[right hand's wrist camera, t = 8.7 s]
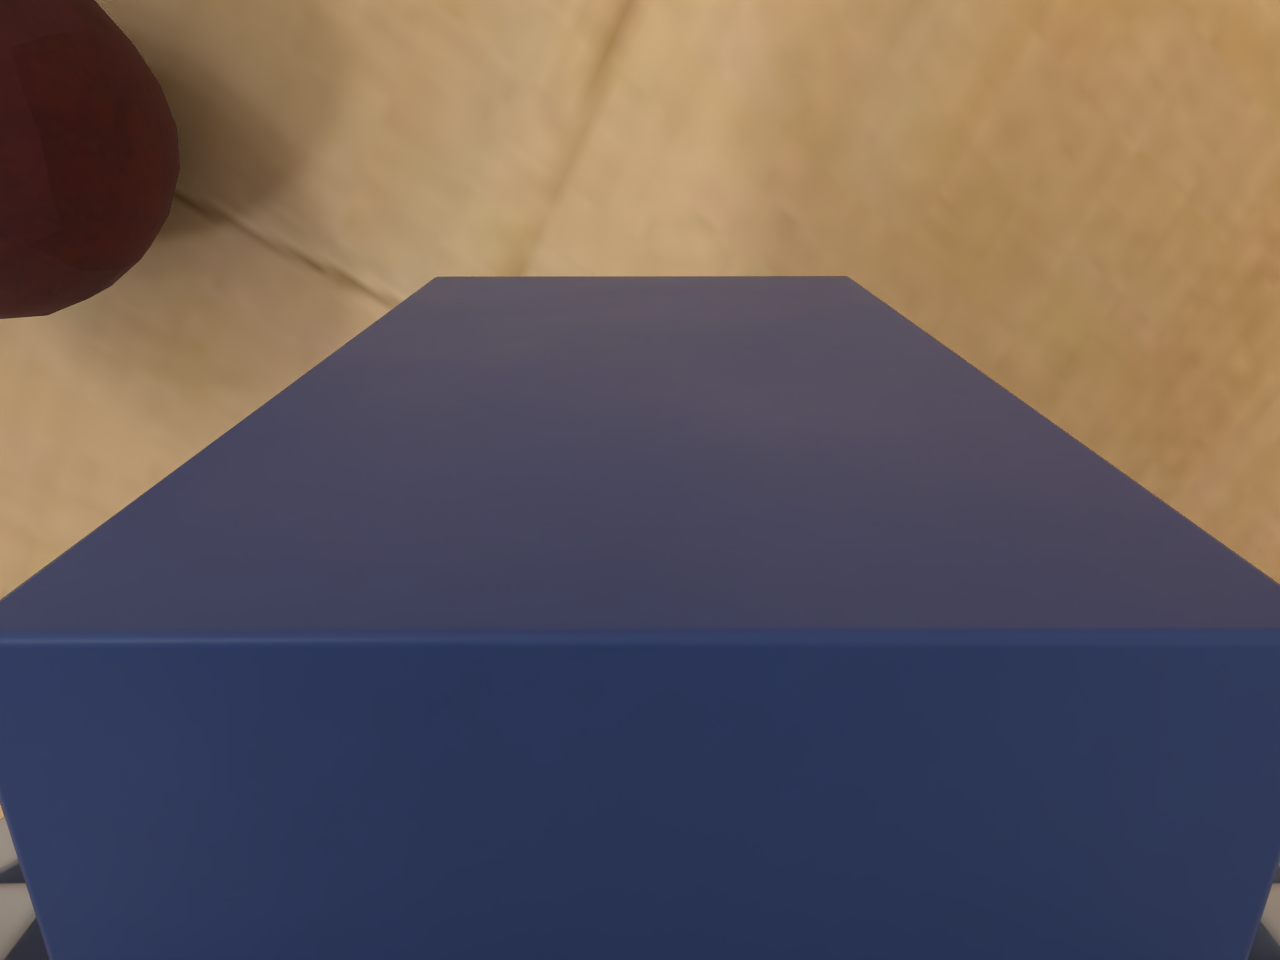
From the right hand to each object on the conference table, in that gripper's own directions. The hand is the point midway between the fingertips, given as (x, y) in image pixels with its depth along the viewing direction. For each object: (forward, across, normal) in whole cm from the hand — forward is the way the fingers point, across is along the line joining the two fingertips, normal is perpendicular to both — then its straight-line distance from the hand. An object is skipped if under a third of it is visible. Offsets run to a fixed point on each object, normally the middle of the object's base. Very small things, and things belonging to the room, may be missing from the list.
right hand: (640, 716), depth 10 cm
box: (+6, 0, +9) cm, 10 cm away
